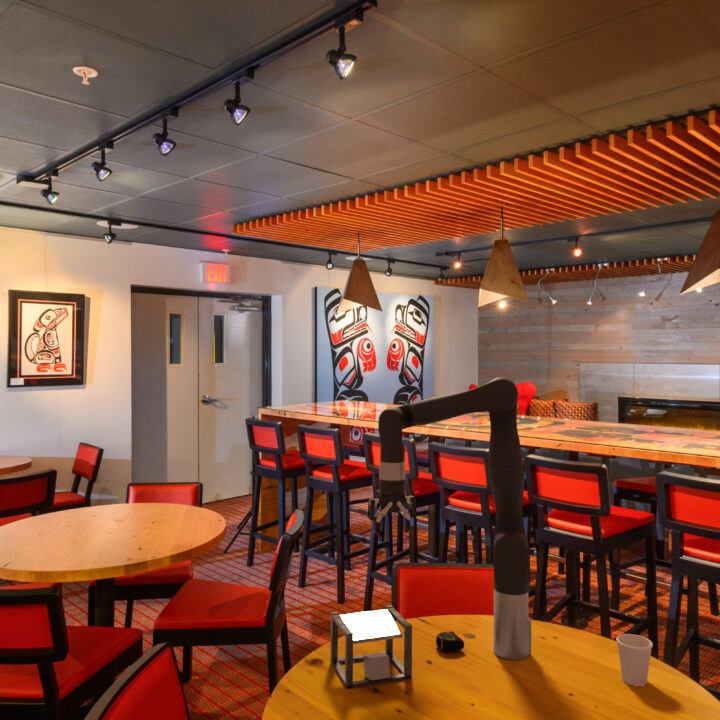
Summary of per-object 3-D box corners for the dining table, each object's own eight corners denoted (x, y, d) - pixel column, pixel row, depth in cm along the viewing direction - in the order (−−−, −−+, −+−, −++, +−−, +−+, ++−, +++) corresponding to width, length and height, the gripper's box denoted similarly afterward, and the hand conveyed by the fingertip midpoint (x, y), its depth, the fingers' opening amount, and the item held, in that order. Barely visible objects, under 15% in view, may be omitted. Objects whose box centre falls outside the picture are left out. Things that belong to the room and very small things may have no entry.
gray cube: (381, 652, 161) (388, 655, 157) (383, 673, 160) (390, 677, 155) (363, 655, 160) (369, 658, 155) (365, 676, 158) (371, 680, 154)
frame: (390, 653, 171) (391, 604, 172) (411, 678, 158) (412, 625, 158) (330, 662, 166) (330, 612, 166) (346, 689, 152) (347, 634, 152)
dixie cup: (616, 685, 155) (617, 644, 155) (615, 670, 163) (615, 631, 163) (654, 692, 152) (654, 650, 152) (651, 676, 160) (651, 636, 160)
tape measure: (465, 653, 172) (465, 639, 173) (442, 656, 170) (442, 642, 170) (454, 642, 179) (454, 629, 179) (431, 645, 177) (432, 632, 177)
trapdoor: (385, 611, 170) (386, 607, 170) (402, 637, 159) (402, 633, 159) (338, 616, 166) (339, 613, 166) (352, 644, 155) (352, 640, 155)
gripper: (410, 473, 187) (409, 528, 187) (364, 476, 182) (364, 532, 182) (420, 478, 180) (420, 535, 180) (373, 480, 175) (373, 539, 175)
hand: (392, 533), depth 181 cm, fingers open, 8 cm apart
